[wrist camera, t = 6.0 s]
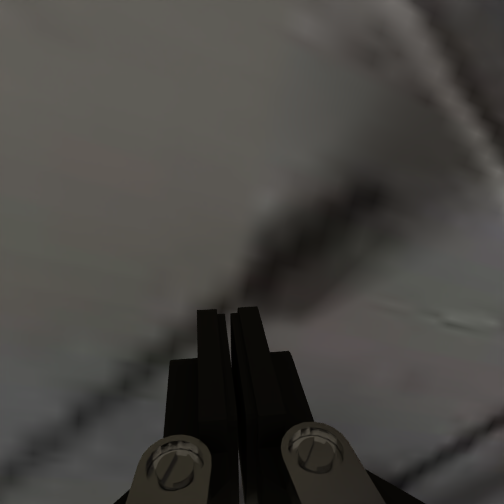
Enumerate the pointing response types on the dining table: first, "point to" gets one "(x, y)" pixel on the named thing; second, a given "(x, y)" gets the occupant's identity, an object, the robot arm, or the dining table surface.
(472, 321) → the dining table surface
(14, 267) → the dining table surface
